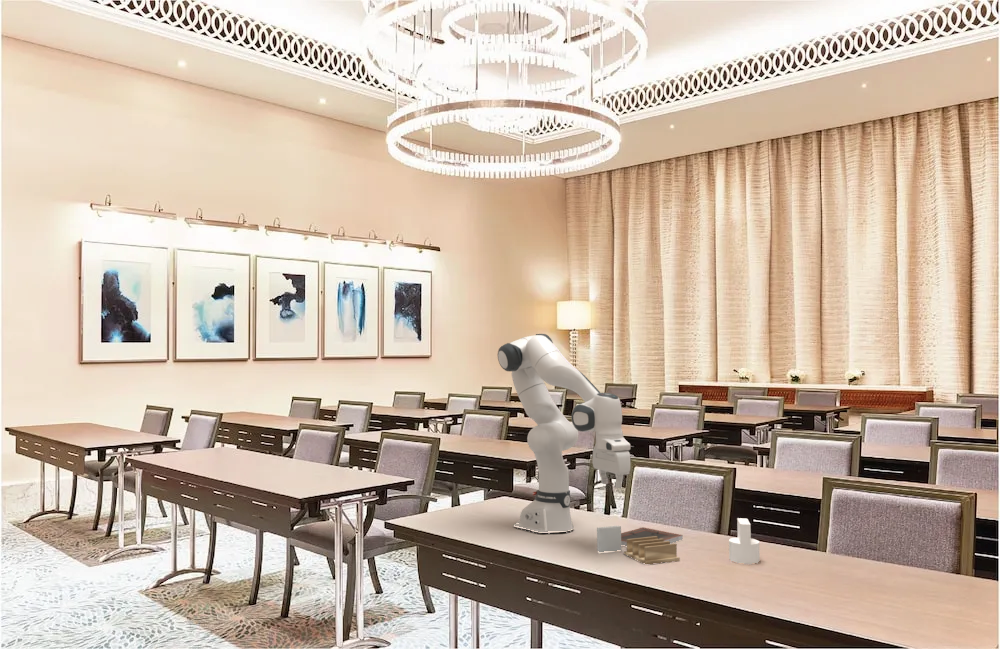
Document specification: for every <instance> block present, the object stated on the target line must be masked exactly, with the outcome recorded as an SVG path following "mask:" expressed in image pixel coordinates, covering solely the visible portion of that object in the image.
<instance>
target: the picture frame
mask: <svg viewBox="0 0 1000 649" xmlns="http://www.w3.org/2000/svg"><path fill="white" fill-rule="evenodd" d="M652 536H657V537H658V539H664V541H670V543H671V544H674V543H677V542H676V541H678V542H680V541H679V540H681V541H683V540H682V539H684V538H683V534H679V533H673V532H669V531H664V530H660V529H659V530H658V529H654V528H648V527H639V528H635V529H633V530H632V529H631V530H629V531H624V532H621V545H625V546H627V539H633V538H643V537H652ZM673 542H674V543H673Z"/></svg>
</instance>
